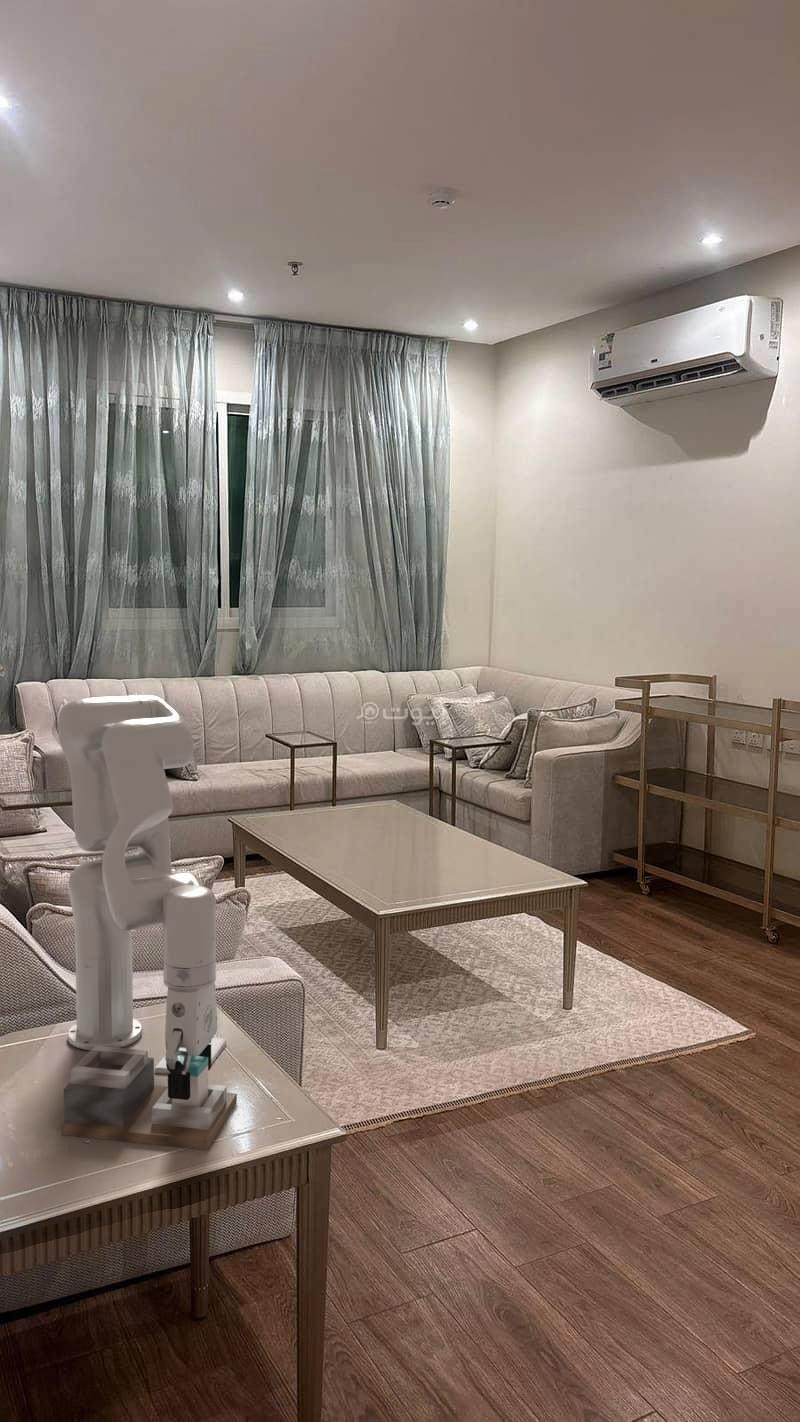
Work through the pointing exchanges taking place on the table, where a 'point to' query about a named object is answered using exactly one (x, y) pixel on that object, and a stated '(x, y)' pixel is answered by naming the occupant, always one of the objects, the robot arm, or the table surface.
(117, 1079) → the socket console
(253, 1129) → the table surface
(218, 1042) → the external hard drive
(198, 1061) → the plug block
